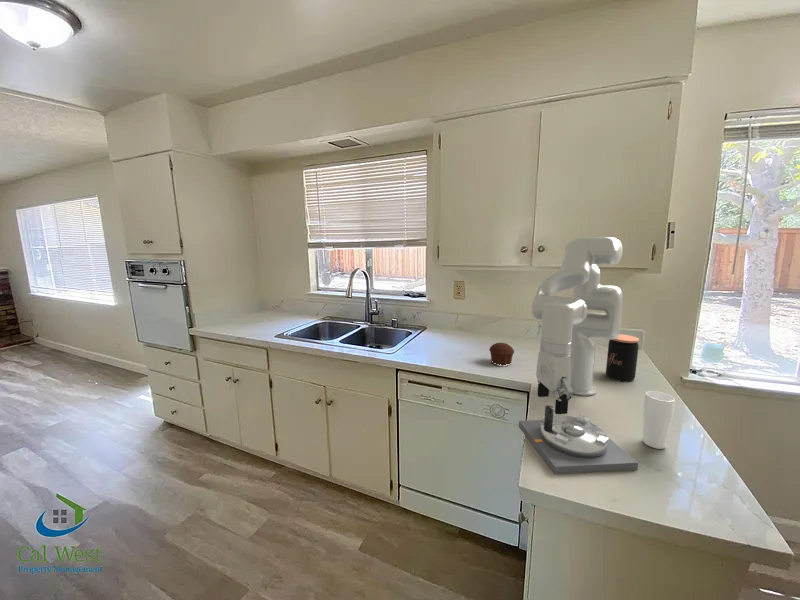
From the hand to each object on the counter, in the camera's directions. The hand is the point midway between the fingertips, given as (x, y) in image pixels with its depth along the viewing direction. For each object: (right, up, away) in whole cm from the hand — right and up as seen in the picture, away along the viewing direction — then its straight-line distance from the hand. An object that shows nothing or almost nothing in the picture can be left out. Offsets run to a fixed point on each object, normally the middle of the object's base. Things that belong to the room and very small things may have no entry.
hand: (551, 404), depth 93 cm
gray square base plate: (+7, -13, +2) cm, 15 cm away
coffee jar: (+53, -4, +50) cm, 73 cm away
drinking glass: (+31, -13, +3) cm, 33 cm away
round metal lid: (+7, -10, +2) cm, 13 cm away
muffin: (+7, -2, +68) cm, 69 cm away
